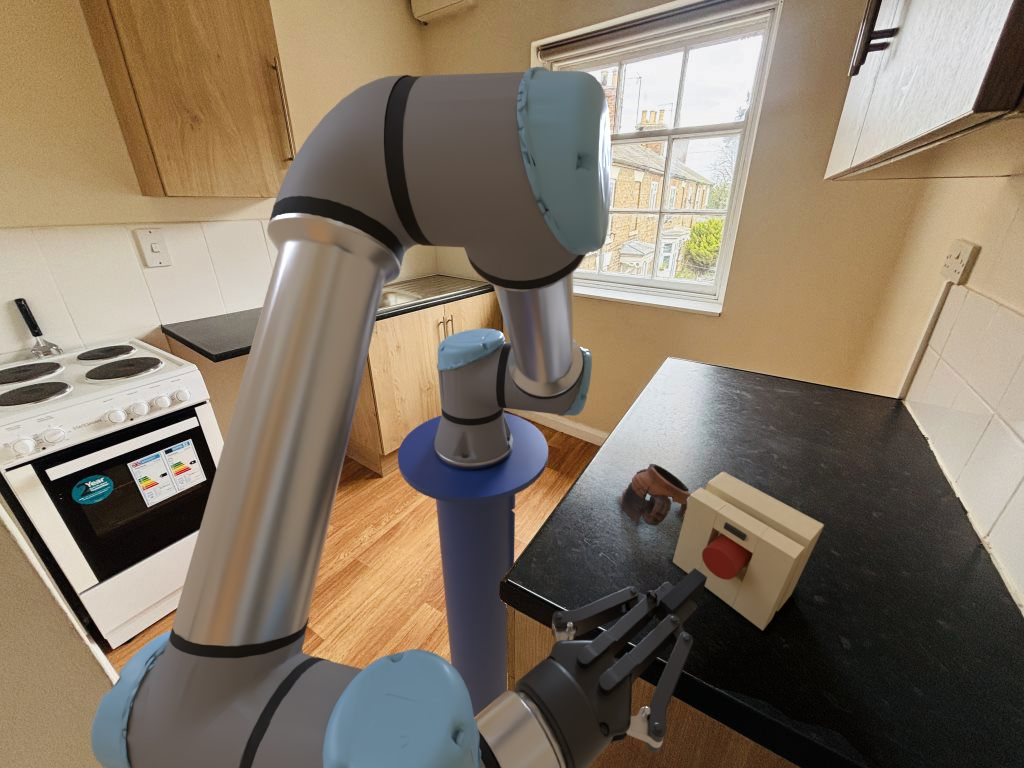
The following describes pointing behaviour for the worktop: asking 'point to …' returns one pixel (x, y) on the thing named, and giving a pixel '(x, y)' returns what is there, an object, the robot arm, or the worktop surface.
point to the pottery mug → (653, 495)
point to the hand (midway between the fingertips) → (698, 581)
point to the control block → (748, 544)
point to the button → (725, 557)
